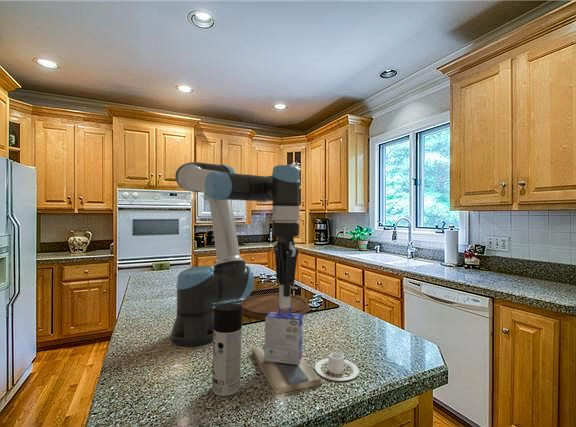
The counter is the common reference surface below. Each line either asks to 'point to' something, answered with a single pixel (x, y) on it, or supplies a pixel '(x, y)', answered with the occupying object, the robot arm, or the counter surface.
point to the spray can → (227, 349)
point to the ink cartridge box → (283, 337)
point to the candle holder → (336, 367)
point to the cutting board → (270, 305)
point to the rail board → (286, 373)
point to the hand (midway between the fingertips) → (284, 307)
